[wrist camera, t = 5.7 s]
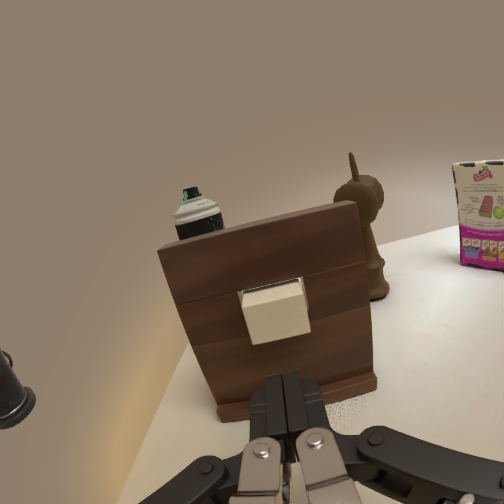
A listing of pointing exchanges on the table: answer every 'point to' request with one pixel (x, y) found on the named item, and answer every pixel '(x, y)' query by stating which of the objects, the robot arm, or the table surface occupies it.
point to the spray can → (197, 215)
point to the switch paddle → (275, 312)
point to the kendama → (366, 223)
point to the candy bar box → (480, 212)
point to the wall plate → (269, 272)
